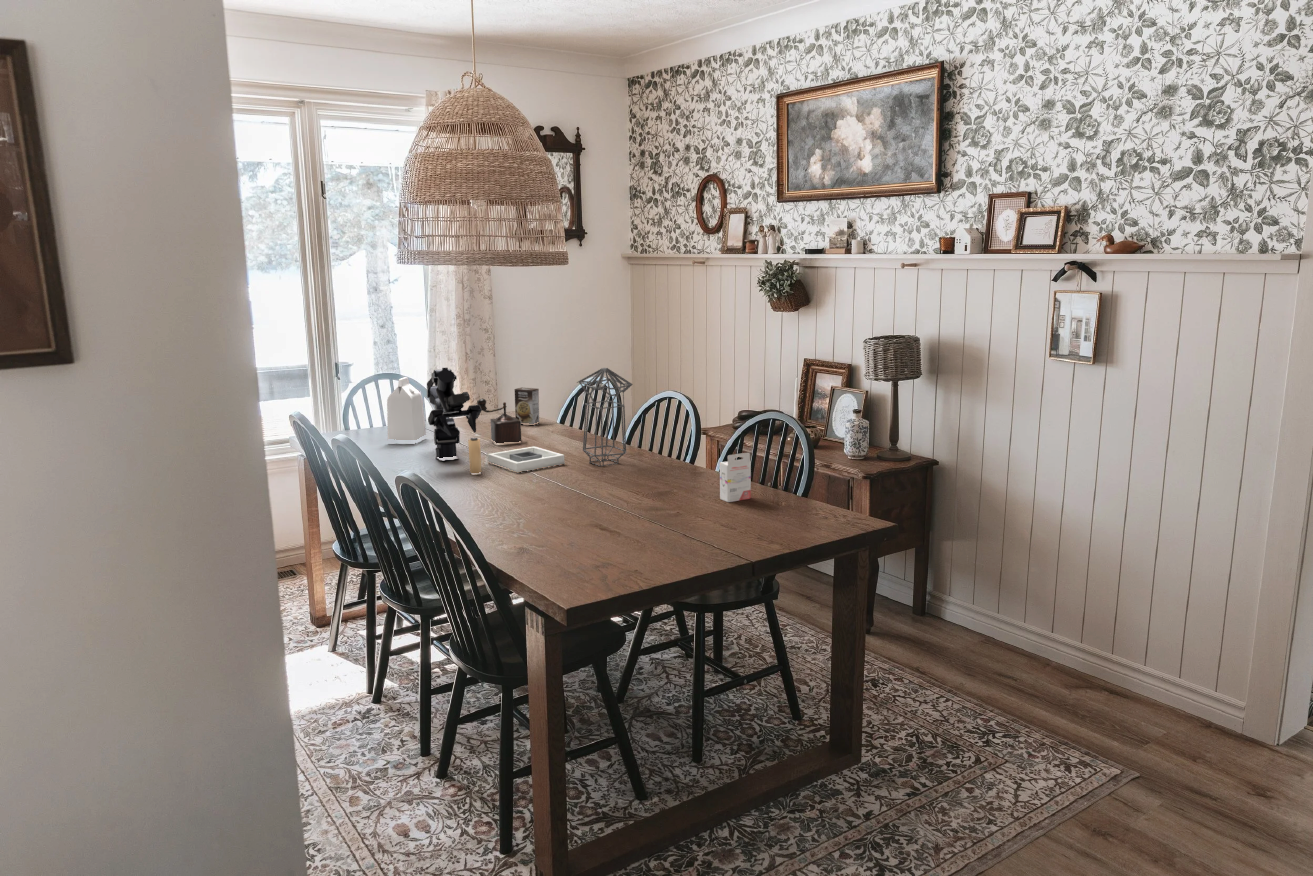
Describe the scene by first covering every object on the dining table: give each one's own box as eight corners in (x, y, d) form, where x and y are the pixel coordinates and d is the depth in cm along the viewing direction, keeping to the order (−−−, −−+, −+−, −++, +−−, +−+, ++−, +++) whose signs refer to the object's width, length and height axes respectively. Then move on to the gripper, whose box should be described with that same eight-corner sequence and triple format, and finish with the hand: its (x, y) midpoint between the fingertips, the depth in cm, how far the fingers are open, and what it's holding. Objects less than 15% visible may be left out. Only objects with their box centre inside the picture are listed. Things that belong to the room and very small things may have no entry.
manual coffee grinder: (515, 438, 374) (513, 395, 370) (522, 443, 364) (520, 399, 360) (477, 442, 368) (475, 398, 364) (483, 447, 358) (481, 402, 354)
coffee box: (515, 424, 404) (513, 389, 401) (522, 422, 410) (521, 387, 407) (533, 426, 401) (531, 390, 397) (540, 423, 406) (538, 387, 403)
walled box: (534, 455, 343) (534, 446, 342) (564, 464, 328) (564, 454, 327) (487, 463, 330) (487, 454, 330) (516, 473, 315) (516, 463, 315)
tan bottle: (478, 471, 318) (476, 436, 315) (483, 473, 315) (482, 438, 312) (467, 473, 316) (466, 438, 313) (473, 475, 312) (471, 440, 310)
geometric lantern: (611, 456, 340) (612, 363, 332) (634, 465, 327) (635, 369, 319) (574, 461, 331) (574, 366, 324) (595, 471, 318) (596, 372, 311)
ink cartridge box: (742, 495, 285) (742, 449, 282) (751, 499, 280) (751, 452, 277) (719, 498, 281) (719, 452, 278) (727, 502, 276) (727, 455, 273)
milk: (400, 438, 377) (395, 376, 372) (426, 438, 376) (422, 376, 370) (387, 444, 366) (383, 380, 360) (415, 444, 364) (410, 380, 359)
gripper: (429, 387, 314) (444, 423, 308) (478, 382, 325) (494, 416, 319) (421, 406, 322) (436, 442, 315) (469, 401, 333) (484, 435, 327)
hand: (463, 433), depth 319 cm, fingers open, 9 cm apart
